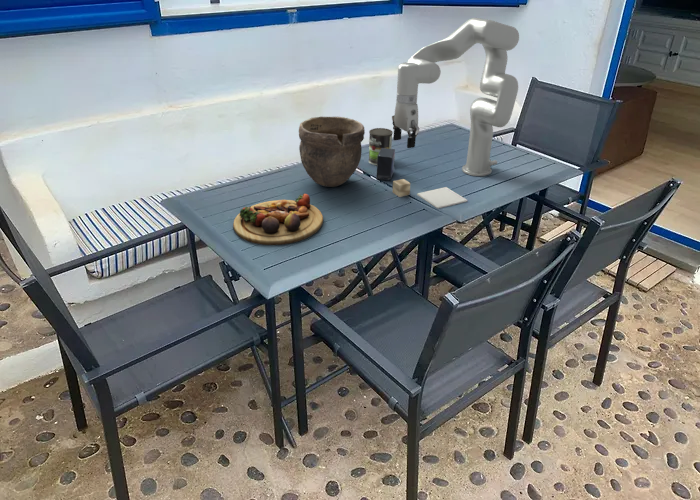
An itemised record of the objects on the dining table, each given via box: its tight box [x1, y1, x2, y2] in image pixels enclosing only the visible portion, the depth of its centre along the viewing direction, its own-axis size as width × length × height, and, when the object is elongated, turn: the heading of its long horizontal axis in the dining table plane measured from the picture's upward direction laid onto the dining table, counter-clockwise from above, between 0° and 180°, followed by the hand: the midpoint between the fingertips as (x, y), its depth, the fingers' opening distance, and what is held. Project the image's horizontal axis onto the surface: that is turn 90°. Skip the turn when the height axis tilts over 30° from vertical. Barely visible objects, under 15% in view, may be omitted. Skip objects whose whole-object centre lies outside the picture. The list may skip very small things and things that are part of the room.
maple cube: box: [392, 178, 411, 198], centre depth 217 cm, size 5×5×5 cm
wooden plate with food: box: [232, 193, 324, 246], centre depth 194 cm, size 32×32×8 cm
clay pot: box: [298, 116, 366, 188], centre depth 220 cm, size 26×26×25 cm
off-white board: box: [416, 186, 468, 209], centre depth 214 cm, size 14×14×1 cm
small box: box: [375, 148, 396, 181], centre depth 231 cm, size 11×6×10 cm, turn 168°
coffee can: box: [368, 127, 394, 166], centre depth 244 cm, size 10×10×14 cm
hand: (403, 143), depth 208 cm, fingers open, 9 cm apart
